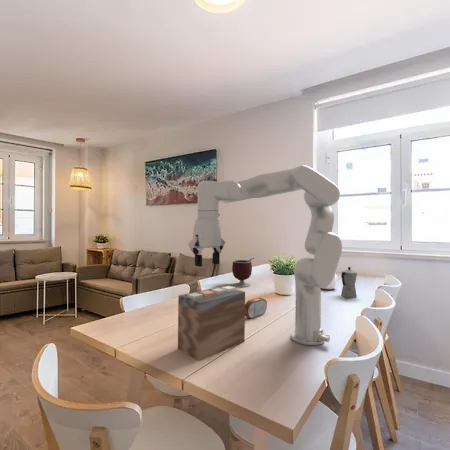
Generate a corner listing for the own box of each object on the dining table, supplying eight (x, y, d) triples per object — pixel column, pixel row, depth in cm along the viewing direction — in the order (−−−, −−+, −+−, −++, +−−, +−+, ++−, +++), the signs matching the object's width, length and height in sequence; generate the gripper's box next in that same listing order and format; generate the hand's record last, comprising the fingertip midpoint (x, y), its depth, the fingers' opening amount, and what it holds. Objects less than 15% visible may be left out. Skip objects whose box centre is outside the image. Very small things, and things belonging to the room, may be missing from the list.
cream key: (235, 293, 113) (235, 287, 112) (228, 295, 110) (228, 289, 110) (228, 291, 115) (228, 285, 115) (221, 293, 113) (221, 287, 113)
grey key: (225, 296, 109) (225, 289, 109) (218, 297, 106) (218, 291, 106) (218, 294, 111) (218, 287, 111) (211, 295, 109) (211, 289, 109)
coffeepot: (346, 292, 189) (347, 265, 189) (361, 295, 182) (362, 267, 181) (334, 296, 179) (334, 267, 179) (348, 299, 172) (349, 269, 172)
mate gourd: (229, 286, 202) (230, 257, 202) (234, 282, 215) (235, 255, 215) (251, 288, 198) (252, 259, 197) (255, 284, 211) (256, 256, 211)
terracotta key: (214, 298, 105) (214, 292, 105) (206, 300, 102) (206, 293, 102) (207, 296, 108) (207, 290, 108) (199, 298, 105) (199, 291, 105)
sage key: (202, 301, 101) (202, 294, 101) (194, 303, 98) (194, 296, 98) (195, 299, 104) (196, 292, 104) (187, 301, 101) (187, 294, 101)
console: (244, 341, 110) (245, 291, 110) (199, 360, 95) (200, 302, 95) (222, 332, 119) (223, 286, 119) (177, 348, 104) (178, 295, 103)
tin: (262, 312, 146) (263, 295, 146) (267, 313, 144) (268, 296, 144) (242, 319, 136) (243, 301, 136) (247, 320, 134) (248, 302, 134)
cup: (319, 285, 210) (320, 266, 210) (339, 288, 202) (339, 268, 202) (313, 288, 199) (314, 269, 199) (333, 291, 192) (333, 271, 192)
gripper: (218, 216, 113) (218, 261, 114) (181, 215, 101) (181, 266, 101) (232, 216, 108) (231, 263, 108) (195, 215, 96) (194, 268, 96)
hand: (207, 264), depth 105 cm, fingers open, 7 cm apart
